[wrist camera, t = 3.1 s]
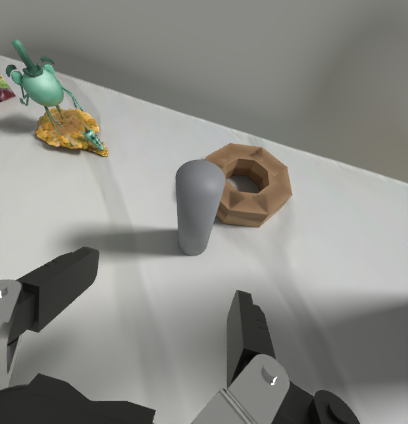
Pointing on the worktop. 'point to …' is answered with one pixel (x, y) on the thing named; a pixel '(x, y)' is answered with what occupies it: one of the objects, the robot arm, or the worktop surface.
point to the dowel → (197, 203)
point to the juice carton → (5, 90)
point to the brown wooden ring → (260, 174)
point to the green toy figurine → (56, 118)
